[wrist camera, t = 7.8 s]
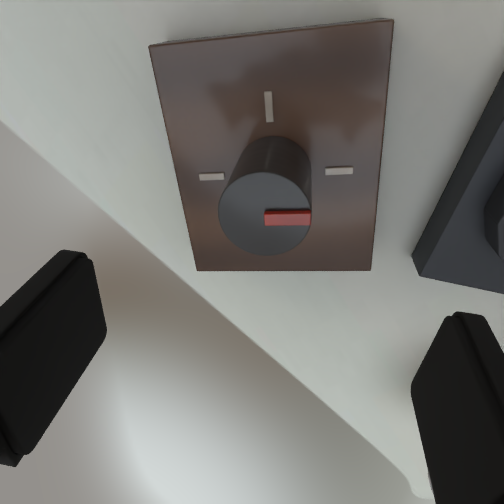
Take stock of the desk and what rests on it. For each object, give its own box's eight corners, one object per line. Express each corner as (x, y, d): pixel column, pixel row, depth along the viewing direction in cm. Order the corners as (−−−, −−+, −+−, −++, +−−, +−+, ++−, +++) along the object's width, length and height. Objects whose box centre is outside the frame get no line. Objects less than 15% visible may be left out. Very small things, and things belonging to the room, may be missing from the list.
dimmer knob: (240, 207, 21) (222, 259, 17) (232, 137, 19) (209, 176, 15) (311, 206, 20) (311, 260, 16) (311, 133, 18) (312, 172, 14)
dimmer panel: (164, 41, 19) (145, 45, 17) (384, 17, 17) (395, 18, 15) (205, 251, 26) (195, 273, 24) (365, 249, 24) (371, 272, 22)
